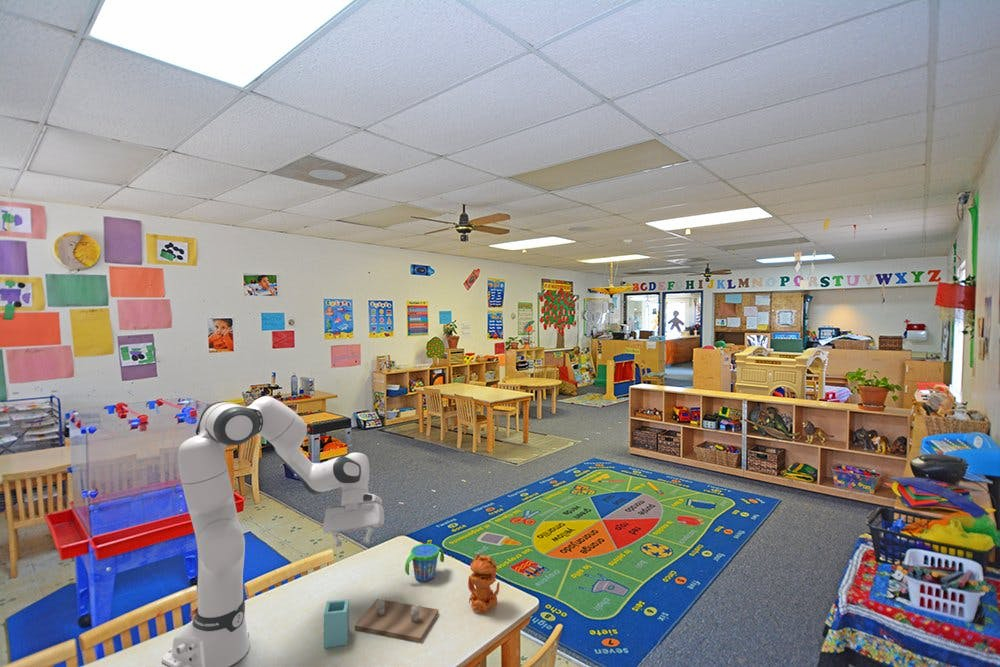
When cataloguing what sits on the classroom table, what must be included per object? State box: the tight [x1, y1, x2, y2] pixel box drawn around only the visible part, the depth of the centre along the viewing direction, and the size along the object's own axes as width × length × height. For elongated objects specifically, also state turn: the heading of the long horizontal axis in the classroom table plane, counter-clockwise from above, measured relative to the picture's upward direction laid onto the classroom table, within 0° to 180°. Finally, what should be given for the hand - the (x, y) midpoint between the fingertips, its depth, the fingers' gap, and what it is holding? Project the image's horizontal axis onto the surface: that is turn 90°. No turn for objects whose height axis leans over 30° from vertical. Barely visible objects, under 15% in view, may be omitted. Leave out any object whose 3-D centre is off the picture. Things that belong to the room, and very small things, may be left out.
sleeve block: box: [323, 598, 350, 649], centre depth 139 cm, size 6×6×10 cm
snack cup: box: [404, 543, 445, 582], centre depth 172 cm, size 16×11×10 cm
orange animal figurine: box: [467, 554, 500, 613], centre depth 154 cm, size 11×11×18 cm
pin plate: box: [354, 598, 439, 644], centre depth 147 cm, size 22×14×6 cm, turn 76°
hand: (352, 544), depth 151 cm, fingers open, 8 cm apart
